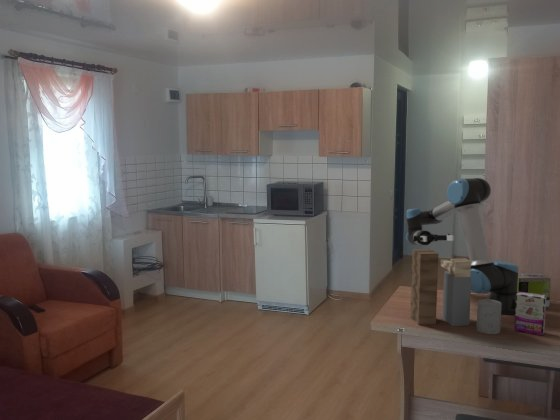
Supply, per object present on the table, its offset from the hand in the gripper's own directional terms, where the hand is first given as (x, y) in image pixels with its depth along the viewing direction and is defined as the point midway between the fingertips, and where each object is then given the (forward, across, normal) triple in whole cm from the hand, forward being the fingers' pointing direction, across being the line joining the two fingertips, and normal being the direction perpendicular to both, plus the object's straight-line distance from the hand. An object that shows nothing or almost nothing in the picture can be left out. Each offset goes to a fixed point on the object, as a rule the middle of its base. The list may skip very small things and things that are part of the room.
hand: (439, 238), depth 248 cm
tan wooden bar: (+14, 0, -15) cm, 20 cm away
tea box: (-4, -46, -34) cm, 58 cm away
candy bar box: (+30, -25, -40) cm, 56 cm away
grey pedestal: (+15, +1, -37) cm, 40 cm away
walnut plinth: (+12, +15, -36) cm, 41 cm away
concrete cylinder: (+26, -9, -39) cm, 48 cm away
